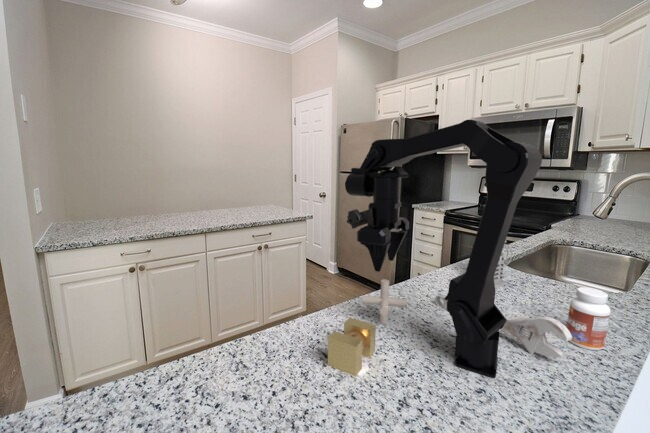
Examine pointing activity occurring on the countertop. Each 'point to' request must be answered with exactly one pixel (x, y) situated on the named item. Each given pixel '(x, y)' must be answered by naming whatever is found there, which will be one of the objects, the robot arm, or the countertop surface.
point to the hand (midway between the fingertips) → (384, 265)
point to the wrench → (530, 331)
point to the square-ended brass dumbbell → (351, 346)
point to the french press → (497, 280)
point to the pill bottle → (589, 318)
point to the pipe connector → (384, 301)
